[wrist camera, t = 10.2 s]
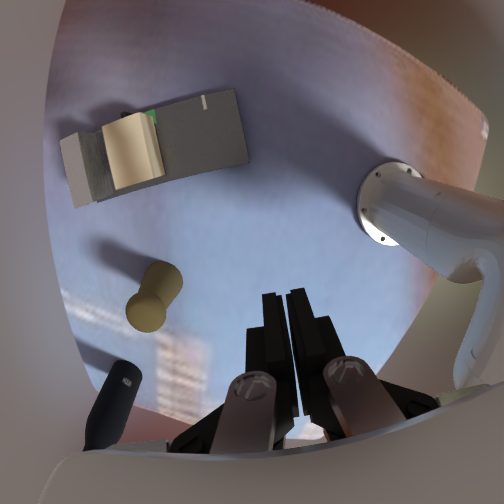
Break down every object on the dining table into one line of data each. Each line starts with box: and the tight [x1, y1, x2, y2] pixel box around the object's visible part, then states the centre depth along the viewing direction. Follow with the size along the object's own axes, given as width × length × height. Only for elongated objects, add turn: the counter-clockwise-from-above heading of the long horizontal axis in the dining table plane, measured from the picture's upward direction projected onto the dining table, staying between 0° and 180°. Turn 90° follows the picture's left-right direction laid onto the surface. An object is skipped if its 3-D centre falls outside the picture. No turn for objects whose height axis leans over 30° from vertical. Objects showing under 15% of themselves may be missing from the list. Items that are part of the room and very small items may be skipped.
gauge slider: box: [102, 112, 165, 190], centre depth 30 cm, size 5×9×5 cm, turn 11°
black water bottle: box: [82, 360, 142, 452], centre depth 34 cm, size 6×6×30 cm
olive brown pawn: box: [126, 262, 183, 333], centre depth 36 cm, size 6×6×11 cm
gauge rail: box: [60, 88, 250, 208], centre depth 31 cm, size 22×10×8 cm, turn 101°
